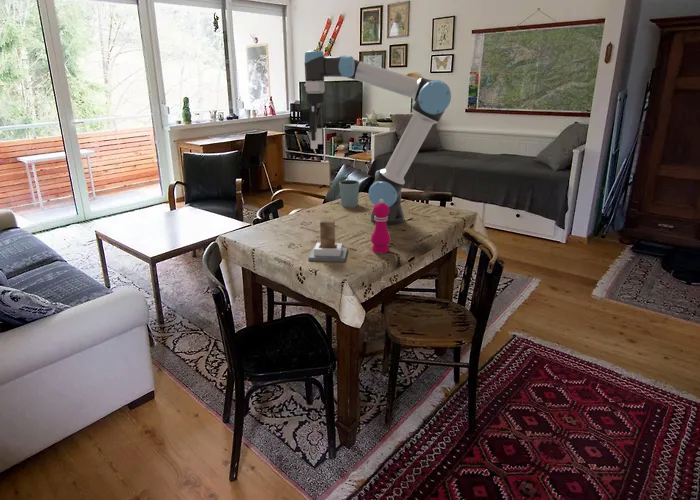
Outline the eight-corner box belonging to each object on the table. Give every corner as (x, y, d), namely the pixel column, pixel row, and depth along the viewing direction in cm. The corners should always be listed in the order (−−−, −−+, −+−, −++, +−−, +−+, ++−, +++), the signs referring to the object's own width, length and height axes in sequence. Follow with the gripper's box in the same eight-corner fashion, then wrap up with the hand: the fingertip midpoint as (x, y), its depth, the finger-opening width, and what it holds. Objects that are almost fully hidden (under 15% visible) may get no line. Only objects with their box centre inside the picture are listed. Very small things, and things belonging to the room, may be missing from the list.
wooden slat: (335, 251, 173) (334, 220, 169) (334, 253, 170) (333, 222, 166) (322, 251, 173) (321, 220, 169) (321, 253, 171) (320, 222, 167)
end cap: (347, 250, 177) (347, 241, 176) (344, 261, 167) (344, 251, 165) (313, 249, 178) (313, 240, 177) (308, 260, 168) (308, 251, 166)
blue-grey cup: (363, 204, 240) (363, 181, 235) (350, 208, 233) (350, 185, 228) (348, 201, 246) (348, 179, 242) (335, 205, 239) (334, 182, 235)
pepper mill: (369, 247, 180) (370, 196, 173) (388, 246, 181) (389, 196, 174) (372, 254, 173) (372, 201, 166) (391, 253, 174) (392, 201, 167)
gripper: (311, 91, 199) (312, 142, 206) (299, 93, 176) (302, 150, 183) (328, 91, 198) (329, 142, 206) (319, 93, 175) (321, 150, 182)
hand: (316, 146), depth 194 cm, fingers open, 13 cm apart
